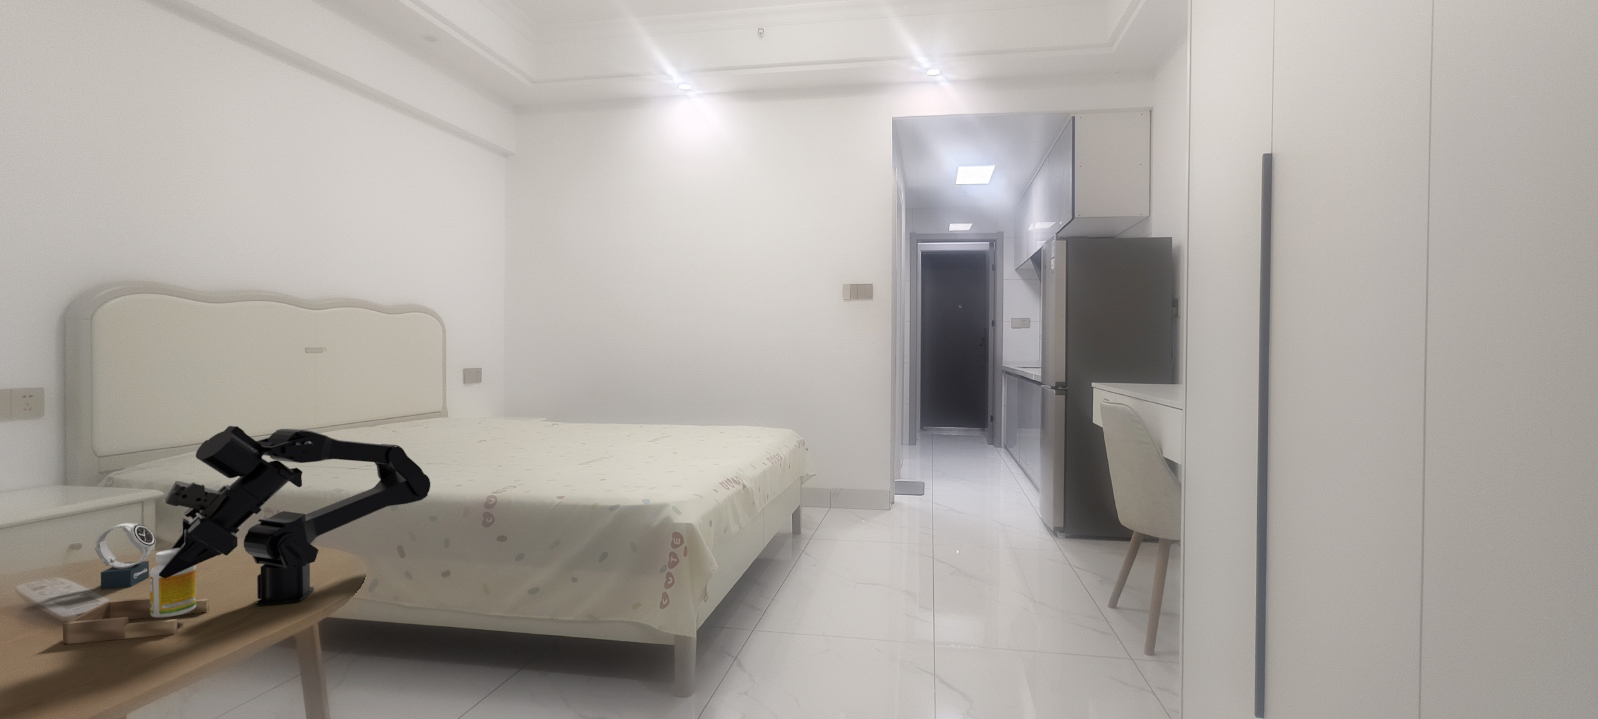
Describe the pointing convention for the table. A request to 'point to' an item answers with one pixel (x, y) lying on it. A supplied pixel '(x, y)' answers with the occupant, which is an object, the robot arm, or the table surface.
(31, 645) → the table surface
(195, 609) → the jig
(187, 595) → the supplement bottle
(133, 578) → the watch
